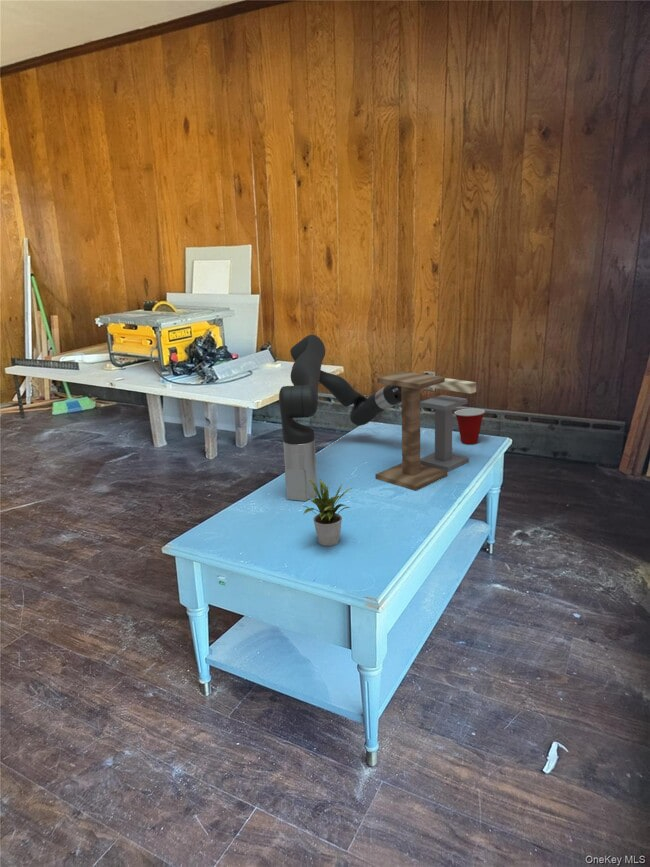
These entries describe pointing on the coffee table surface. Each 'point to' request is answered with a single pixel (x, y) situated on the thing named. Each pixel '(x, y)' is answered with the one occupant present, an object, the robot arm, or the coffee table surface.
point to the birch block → (457, 385)
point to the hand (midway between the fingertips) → (425, 376)
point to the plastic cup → (469, 424)
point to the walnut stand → (411, 433)
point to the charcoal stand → (443, 433)
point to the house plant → (327, 515)
